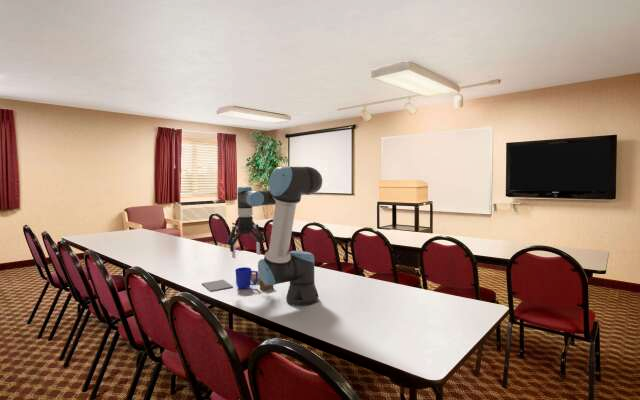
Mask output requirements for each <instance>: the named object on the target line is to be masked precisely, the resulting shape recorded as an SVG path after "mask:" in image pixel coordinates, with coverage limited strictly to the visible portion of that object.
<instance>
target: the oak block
mask: <svg viewBox="0 0 640 400" xmlns="http://www.w3.org/2000/svg"><path fill="white" fill-rule="evenodd" d="M260 279H261V278H260V275H259V272H258V278H257V283H260ZM255 281H256V273H255V272H252V273H251V283H252V284H254V283H255Z"/></svg>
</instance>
